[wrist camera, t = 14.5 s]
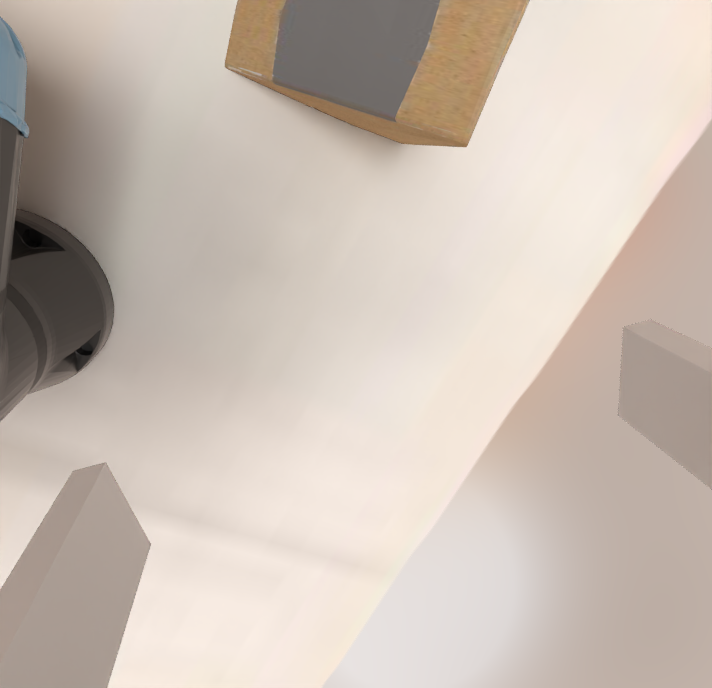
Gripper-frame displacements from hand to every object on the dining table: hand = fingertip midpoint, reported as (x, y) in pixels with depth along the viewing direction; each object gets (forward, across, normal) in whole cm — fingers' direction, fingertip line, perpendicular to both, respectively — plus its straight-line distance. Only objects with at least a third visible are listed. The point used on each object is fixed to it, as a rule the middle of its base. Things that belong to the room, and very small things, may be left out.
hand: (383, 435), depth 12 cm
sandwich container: (+32, +5, +12) cm, 35 cm away
